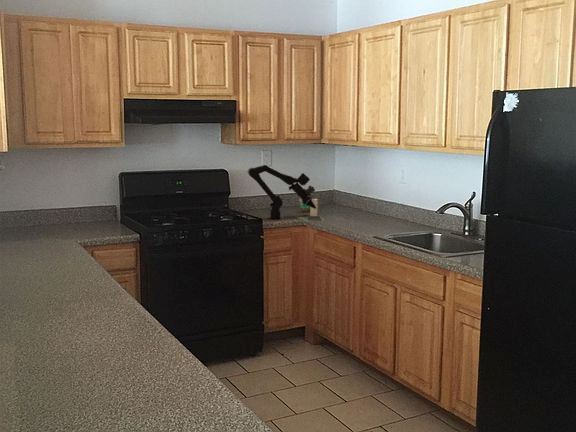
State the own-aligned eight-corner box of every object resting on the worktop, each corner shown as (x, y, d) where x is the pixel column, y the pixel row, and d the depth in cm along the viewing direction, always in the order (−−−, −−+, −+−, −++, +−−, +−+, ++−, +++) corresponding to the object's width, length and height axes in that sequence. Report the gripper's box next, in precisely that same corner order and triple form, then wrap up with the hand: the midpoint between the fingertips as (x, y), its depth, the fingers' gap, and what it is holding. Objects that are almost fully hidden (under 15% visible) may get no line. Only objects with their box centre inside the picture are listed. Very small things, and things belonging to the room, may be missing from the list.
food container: (296, 213, 461) (296, 198, 459) (299, 211, 467) (299, 197, 465) (313, 214, 457) (314, 199, 456) (316, 212, 463) (316, 198, 462)
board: (306, 222, 423) (306, 219, 422) (296, 218, 438) (296, 215, 437) (326, 221, 428) (326, 218, 427) (315, 217, 443) (315, 214, 443)
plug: (310, 217, 436) (310, 199, 434) (310, 216, 441) (310, 198, 439) (318, 217, 436) (318, 199, 434) (318, 216, 441) (318, 198, 439)
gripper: (307, 183, 426) (324, 200, 427) (308, 180, 444) (324, 197, 445) (295, 195, 427) (312, 212, 429) (296, 192, 446) (312, 208, 447)
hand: (315, 207), depth 437 cm, fingers open, 6 cm apart
